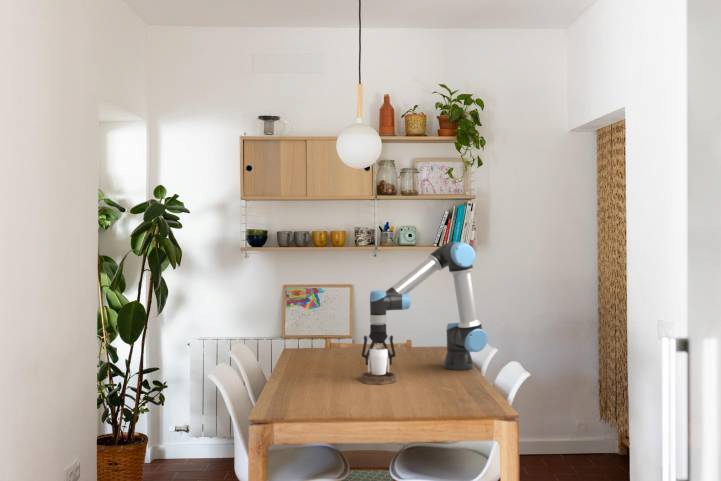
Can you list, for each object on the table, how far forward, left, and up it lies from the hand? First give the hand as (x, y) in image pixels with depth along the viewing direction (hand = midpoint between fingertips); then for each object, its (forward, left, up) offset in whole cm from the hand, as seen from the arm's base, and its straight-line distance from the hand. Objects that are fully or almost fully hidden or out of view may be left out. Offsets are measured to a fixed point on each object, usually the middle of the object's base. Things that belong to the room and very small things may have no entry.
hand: (378, 371), depth 313 cm
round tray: (0, 0, -4) cm, 4 cm away
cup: (0, 0, -1) cm, 1 cm away
